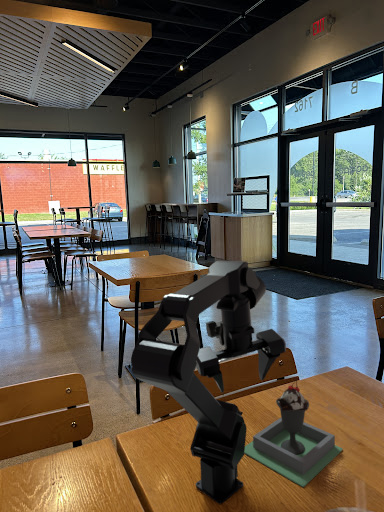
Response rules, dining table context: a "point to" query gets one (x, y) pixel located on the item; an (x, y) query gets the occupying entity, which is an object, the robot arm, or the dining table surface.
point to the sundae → (292, 417)
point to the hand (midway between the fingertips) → (241, 385)
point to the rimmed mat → (286, 463)
